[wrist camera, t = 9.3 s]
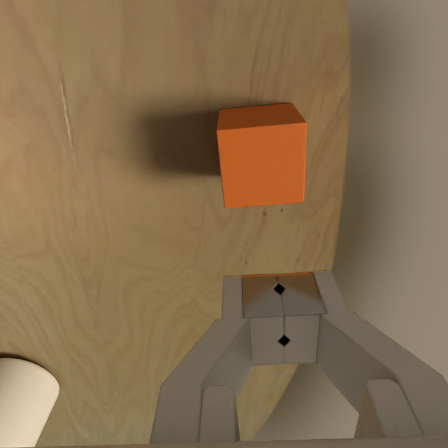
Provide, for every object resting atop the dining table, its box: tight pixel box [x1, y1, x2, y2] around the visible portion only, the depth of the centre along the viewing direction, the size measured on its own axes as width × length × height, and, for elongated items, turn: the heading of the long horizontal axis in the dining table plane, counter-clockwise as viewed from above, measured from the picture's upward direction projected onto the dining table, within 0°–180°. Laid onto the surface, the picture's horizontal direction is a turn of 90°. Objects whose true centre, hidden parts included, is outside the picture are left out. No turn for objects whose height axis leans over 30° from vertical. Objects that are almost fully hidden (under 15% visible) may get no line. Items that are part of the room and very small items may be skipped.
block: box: [216, 103, 307, 208], centre depth 19 cm, size 4×4×4 cm
